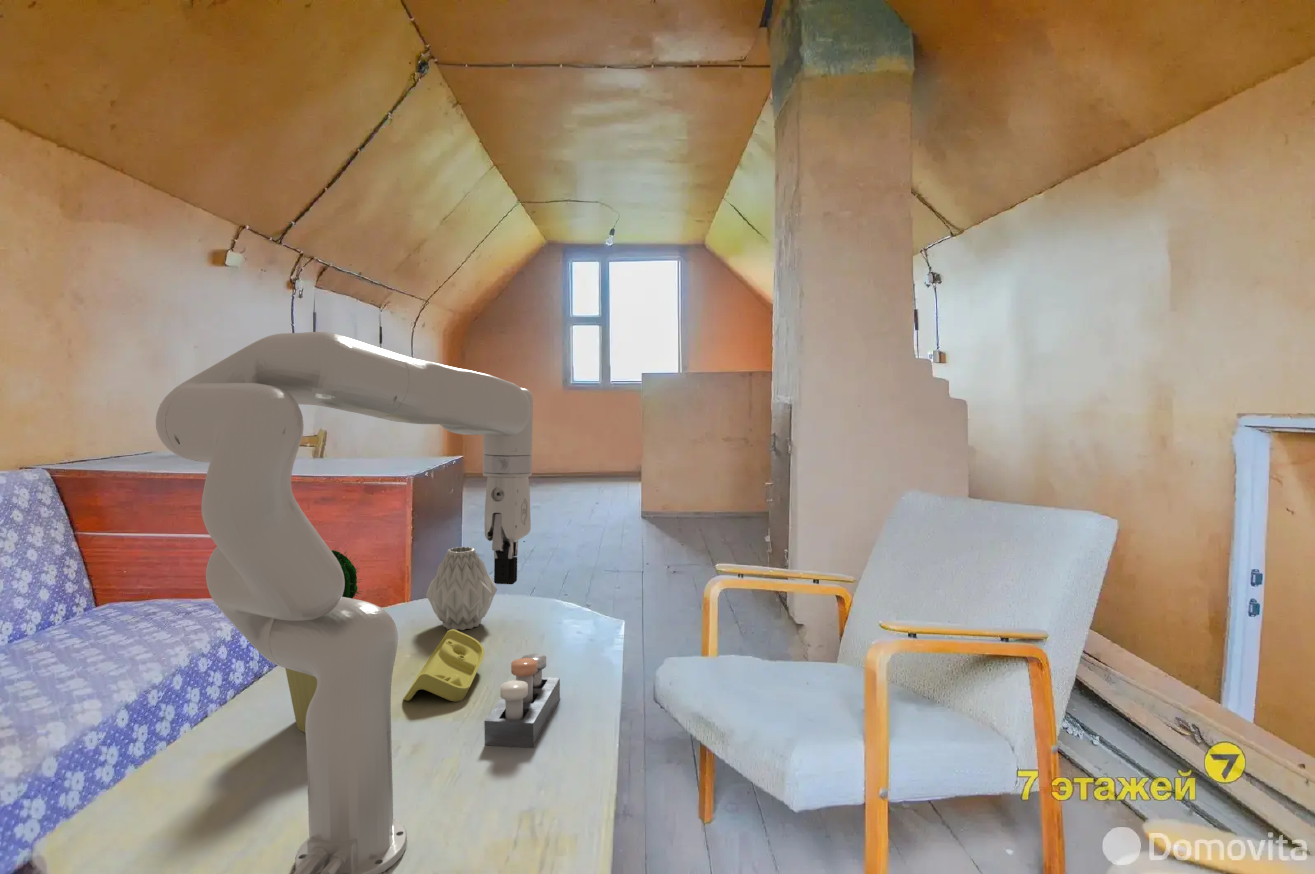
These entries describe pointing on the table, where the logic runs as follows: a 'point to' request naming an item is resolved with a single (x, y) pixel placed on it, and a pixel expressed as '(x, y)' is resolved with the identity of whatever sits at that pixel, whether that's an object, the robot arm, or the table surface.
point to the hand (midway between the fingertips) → (505, 582)
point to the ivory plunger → (514, 698)
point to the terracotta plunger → (525, 674)
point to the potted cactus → (306, 684)
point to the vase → (461, 589)
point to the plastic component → (450, 667)
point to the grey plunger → (538, 669)
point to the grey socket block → (533, 721)
